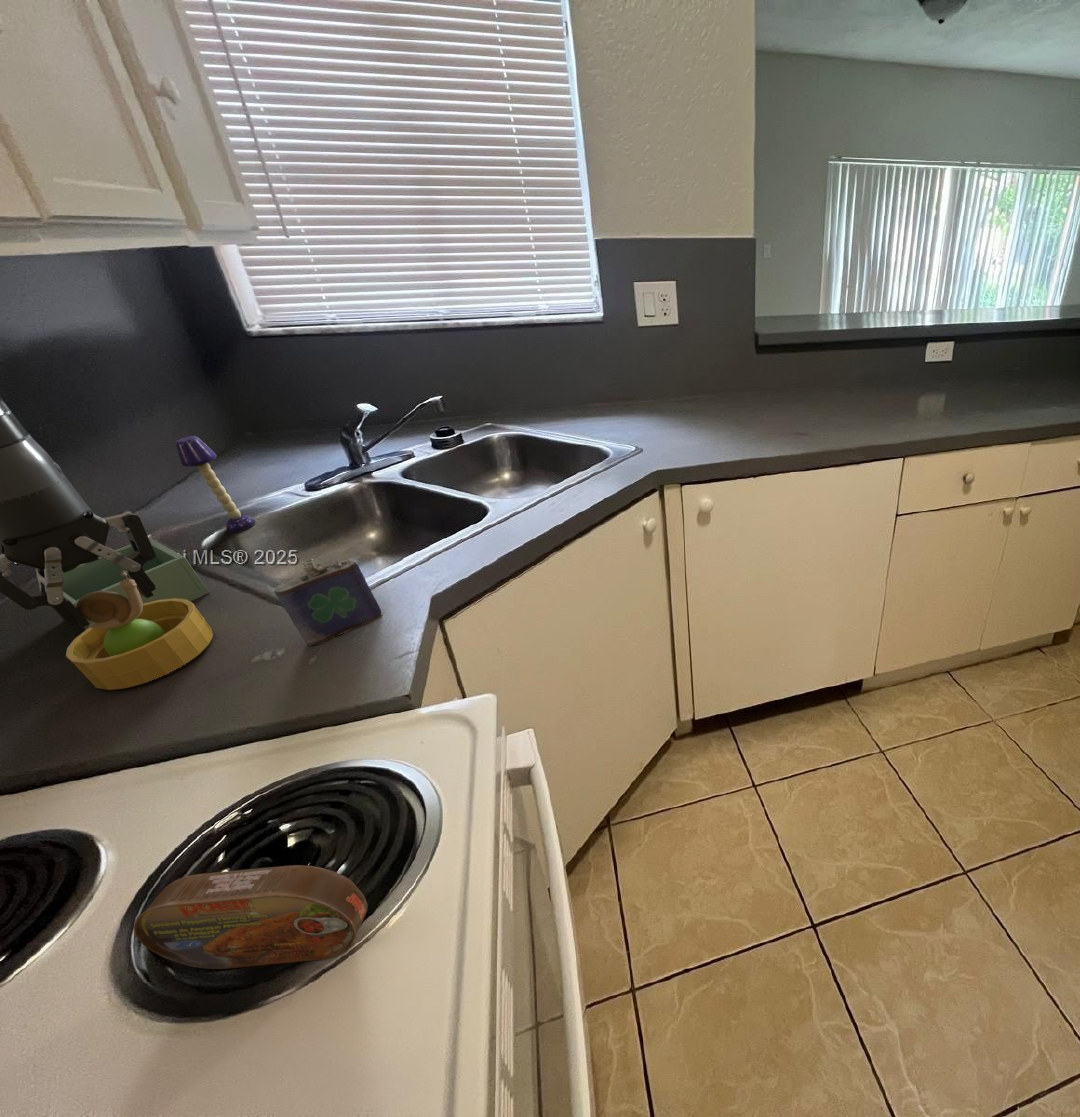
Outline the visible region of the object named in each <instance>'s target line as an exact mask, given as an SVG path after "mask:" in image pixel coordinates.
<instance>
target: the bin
mask: <svg viewBox="0 0 1080 1117" xmlns="http://www.w3.org/2000/svg"><path fill="white" fill-rule="evenodd" d="M148 538H149V540H150V543H151V545H152V547H153V550H154V552H155V555H156V556H155V558H154V559H152V560H149V561H147V562H146V563H145V564H144V565H143V570H144V572H145V573H146V574H147V576H148V577H149V578H150V580H151V581H152V582H153V583H154V585H155V589H156V590H154V591H151V592H152V593H153V595H154V596H152V597H149V598H145V597H144V596H142V595H141V594H140V596H141V599H142V603H143V604H144V603H148V602H153V601H157V600H163V599H173V598H178V599H186V600H188V601H190V602H192V601H195V600H197V599H199V598H201V597H204V596H205V595H207V594H209V593H210V591H209V590H208V588H207V586H205V584H204V583H203V581H202V580H201V578H200V576H199V575H198V573H197V572H196V571H195V570H194V568H193V566H192V565H191V564H190V563H189V561H188V560H187V558H186V556H184V555H182V554H180V553H179V552H176V551H174V550H172V549H171V548H169V547H167V546H165V545H163V544H161V543H160V542H157V541H156V540H153V539H152V538H150V537H148ZM114 550H115V551H117V552H119V553H120V554H122V555H124V556H126V557H128V556H129V555H131V554H132V553H133V552H134V550H133V548H132V546H131V544H128V545H125V546H123V547H122V546H121V547H120V548H117V549H114ZM123 569H124V568H122V567H120V566H118V565H116V564H114V563H112V562H110V561H108V560H106V559H104V558H102V557H99V560H96V561H93V562H91V563H86V564H81V565H79V566H78V567H76V568H75V569H73V570H70V571H68V572H65V573H64V572H62V574H63V585H62V588H63V596H64V597H65V598H67V599H68V600H69V601H70V602H71V603H72V604H73V605H74V606H75V607H76V604H77V602H78V600H79V599H80V598H81V597H83V596H84V595H86V594H88V593H91V592H96V591H111V592H115V593H118V594H121V595H123V596H124V597H125V598H127V595H126V592H125V591H124V590H123V589H122V588H121V587H120V582H121V581H122V580H124V579H127V578H128V577H127V578H126V576H121V572H122V570H123ZM37 583H39V581H38V580H37ZM127 599H128V598H127ZM87 621H88V620H87ZM88 622H89V624H90V625H91V624H94V623H98V622H92V621H88ZM88 628H90V627H89V625H88V626H85V627H83V628H82V629H84V631H85V630H87V629H88Z"/></svg>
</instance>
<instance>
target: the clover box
mask: <svg viewBox="0 0 1080 1117" xmlns="http://www.w3.org/2000/svg"><path fill="white" fill-rule="evenodd" d="M314 562H315V560H314V559H313V558H309V559H307V560H305V562H302V566H304V567H303V571H304V572H305V573H304V574H301V575H298V576H297V577H295V578H292V579H290V580H288V581H285V582H283V583H281V584H278V585H277V586H276V587H275V589H274V595H275V596H276V598H277V599H278V600H279V601H280V603H281V604H282V606H283V608H284V609H285V611H286V614H288V616H289V617H290V619H291V621H292V624H293V625H294V627H295V628H296V629H297V631H298V632H299V635H300V636H301V638H302V640H303V641H304V643H305V644H307V645H308V646H309V647H312V646H315V645H320V644H323V643H326V642H328V640H332V639H334V638H336V637H338V636H337V635H339V634H341V633H344V634H347V633H348V632H350V631H351V630H353V629H356V628H355V627H358V626H359V627H361V626H364V625H366V624H365V623H367V624H369V623H372V622H376V621H377V620H379V619H380V618H381V617H382V616H381V613H382V610H381V607H380V605H379V604H378V601H377V599H376V598H375V596H374V594H373V592H372V590H371V588H370V586H369V584H368V582H367V581H366V578H365V576H364V574H363V572H362V570H361V568H360V565H359V564H358V563H356V562H355V561H354V560H351V559H346V560H342V561H340V560H337V561H334V562H333V563H332V564H325V565H324V564H320V563H318V564H315V563H314ZM375 620H376V621H375ZM363 624H364V625H363ZM360 625H361V626H360ZM359 627H358V628H359ZM335 636H336V637H335ZM325 641H326V642H325Z"/></svg>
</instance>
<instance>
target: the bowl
mask: <svg viewBox="0 0 1080 1117" xmlns="http://www.w3.org/2000/svg"><path fill="white" fill-rule="evenodd" d="M136 619H145V620H149V621H152V622H154V623H156V624H158V625H159V626H160V627H161V628H162V629H163V630H164V632H165V634H164V635H163V636H161V637H160V638H158V639H156V640H154V641H152V642H150V643H148V644H146V645H144V646H141V647H139V648H136V649H133V650H131V651H128V652H125V653H122V654H118V655H115V656H110V655H109V654H108V653H107V652H106V650H105V648H104V638H105V635H106V633H107V632H108V631H109V630H99V629H94V628H91V627H90V628H88V629H87V630H85V629H84V631H83V632H81V633H80V634H79V635H78V636H76V637H75V638H73V640H72V641H71V642H70V644H69V645H68V647H67V648H66V654H65V657H66V658H67V659H68V660H69V661H70V662H71V663H72V665H73V666H74V667H75V668H76V669H77V670H78V671H79V672H80V673H81V674H82V675H83V676H84V677H85V678H86V679H87V681H89V683H90V684H92V686H94V687H95V688H96V689H100V690H107V691H115V690H121V689H122V690H123V689H128V688H132V687H135V686H136V687H137V686H139V685H144V684H146V683H150V682H153V681H155V680H158V679H160V678H162V676H163V677H165V676H167V675H170V674H171V673H173V672H175V671H177V670H179V669H181V668H183V667H184V666H185V665H187V664H188V663H189V662H191V661H192V660H194V659H195V658H196V657H198V656H199V655H200V654H201V653H202V652H203V651H204V650H205V649H206V648H207V647H208V646H209V645H210V643H211V641H212V639H213V638H214V633H213V629H212V627H211V626H210V624H209V623H208V622H207V620H206V619H205V618H204V616H203V614H201V612H200V611H199V609H198V608H197V607H196V605H195V604H194V603H193V602H192V601H191V602H190V601H188V600H186V599H178V598H173V599H163V600H157V601H153V602H148V603H144V604H143V610H142V613H141V614H140V616H139V617H137V618H136ZM186 663H187V664H186ZM183 665H184V666H183ZM178 668H179V669H178ZM176 669H177V670H176ZM174 670H175V671H174ZM172 671H173V672H172ZM170 672H171V673H170ZM164 675H165V676H164ZM159 677H160V678H159ZM157 678H158V679H157ZM154 679H155V680H154ZM152 680H153V681H152ZM149 681H150V682H149Z"/></svg>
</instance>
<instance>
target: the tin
mask: <svg viewBox="0 0 1080 1117" xmlns="http://www.w3.org/2000/svg"><path fill="white" fill-rule="evenodd" d="M368 908H369V906H368V902H367V898H366V897H365V895H364V894H363V892H362V891H361V890H360V889H359V887H357V886H356V884H355V883H354V882H353V881H352V880H351V879H350V878H349V877H347V876H345V875H342V874H341V873H338V872H336V871H333V870H331V869H327V868H323V867H319V866H313V865H301V864H294V865H293V864H292V865H281V866H280V865H279V866H270V867H259V868H258V867H257V868H247V869H238V870H229V871H228V870H227V871H218V872H216V871H215V872H209V873H197V874H191V875H186V876H182V877H179V878H178V879H176V880H173V881H172V882H171V883H169V884H168V885H167V886H166V887H164V888H163V889H162V890H161V892H160V893H159V894H158V895H157V896H156V897H155V899H153V901H152V902H151V904H150V905H149V906H148V907H147V908H146V910H144V911H143V912H142V913H141V914H139V915H138V916H137V918H136V919H135V921H134V924H133V931H134V934H135V937H136V938H137V939H138V940H139V942H140V943H141V944H142V946H144V947H146V948H147V949H148V950H149V951H151V952H153V953H154V954H156V955H158V956H160V957H162V958H164V959H167V960H169V961H172V962H175V963H178V964H181V965H185V966H189V967H192V968H199V969H207V970H208V969H209V970H226V969H229V970H230V969H238V968H239V969H240V968H249V967H258V966H259V967H260V966H270V965H278V964H279V965H280V964H292V963H301V962H311V961H320V960H321V961H323V960H327V959H332V958H334V957H337V956H340V955H342V954H343V953H345V952H346V951H348V950H349V949H350V948H351V947H352V946H353V944H354V943H355V941H356V937H357V934H358V931H359V929H360V927H361V925H362V924H363V921H364V919H365V917H366V914H367V912H368Z"/></svg>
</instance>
